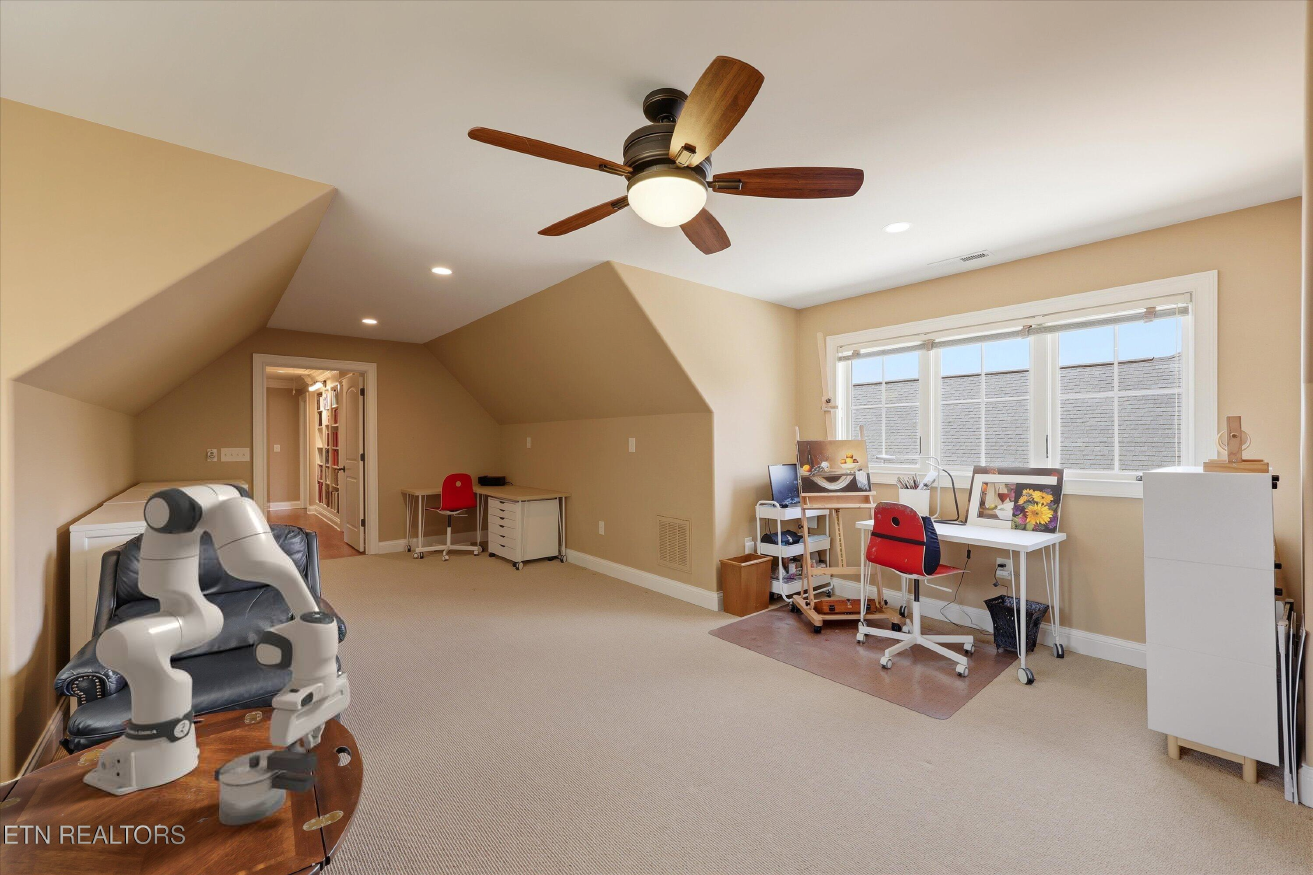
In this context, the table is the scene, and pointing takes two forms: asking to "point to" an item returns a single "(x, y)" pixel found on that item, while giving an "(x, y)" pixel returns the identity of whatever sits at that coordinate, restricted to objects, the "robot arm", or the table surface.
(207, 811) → the table surface
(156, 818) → the table surface
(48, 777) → the table surface
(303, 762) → the lid
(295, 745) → the grey round vessel
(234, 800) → the pot
